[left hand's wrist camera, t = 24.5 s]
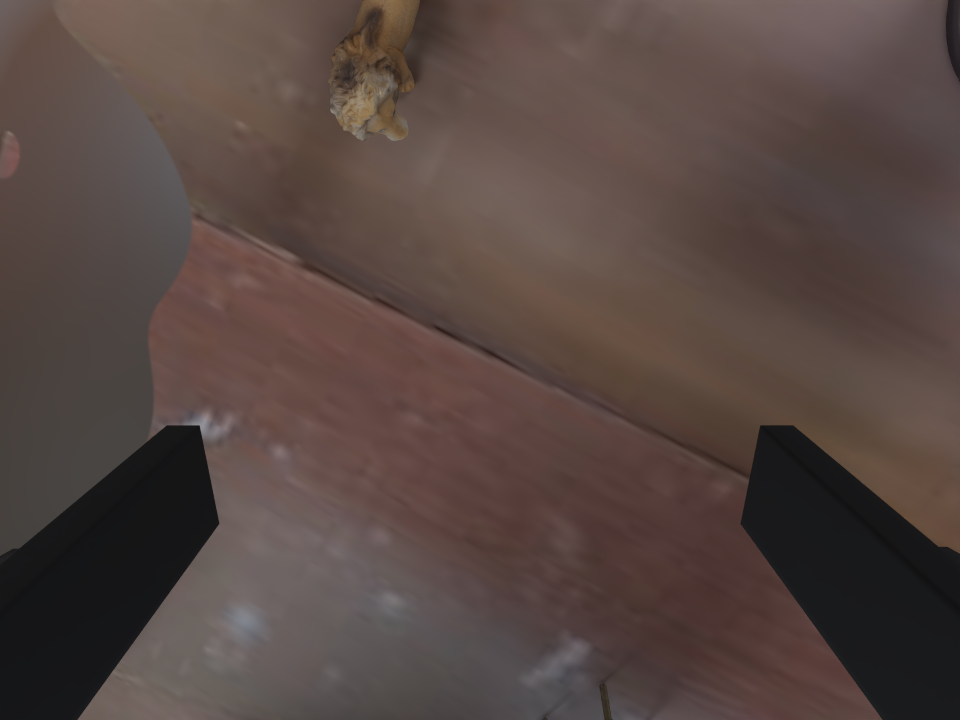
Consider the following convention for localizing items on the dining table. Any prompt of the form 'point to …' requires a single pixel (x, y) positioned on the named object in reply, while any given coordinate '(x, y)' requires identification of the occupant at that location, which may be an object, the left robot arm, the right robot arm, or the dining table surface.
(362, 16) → the lion figurine
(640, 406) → the dining table surface
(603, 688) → the miniature windmill
